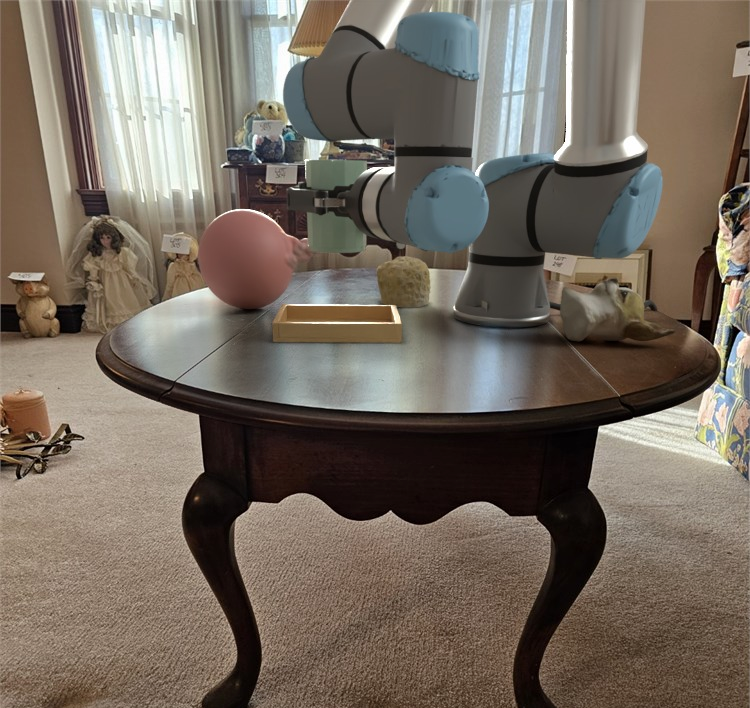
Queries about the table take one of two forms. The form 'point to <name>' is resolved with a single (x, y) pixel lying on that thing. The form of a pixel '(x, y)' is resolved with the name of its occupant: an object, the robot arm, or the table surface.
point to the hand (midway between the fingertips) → (325, 196)
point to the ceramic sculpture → (607, 314)
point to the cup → (328, 228)
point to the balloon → (249, 258)
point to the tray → (337, 324)
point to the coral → (404, 282)
